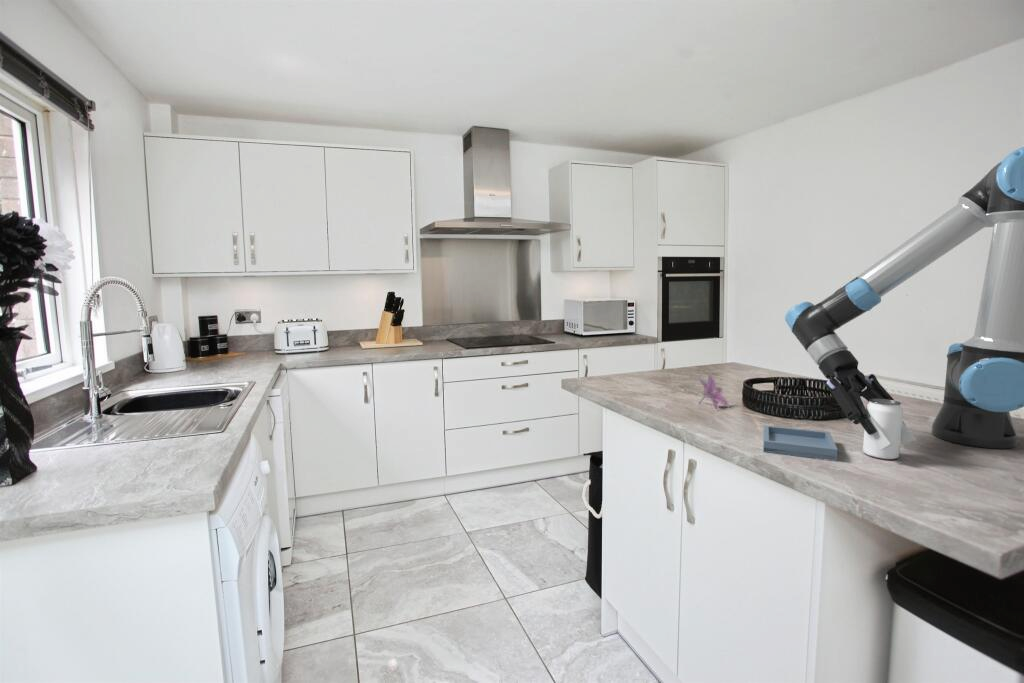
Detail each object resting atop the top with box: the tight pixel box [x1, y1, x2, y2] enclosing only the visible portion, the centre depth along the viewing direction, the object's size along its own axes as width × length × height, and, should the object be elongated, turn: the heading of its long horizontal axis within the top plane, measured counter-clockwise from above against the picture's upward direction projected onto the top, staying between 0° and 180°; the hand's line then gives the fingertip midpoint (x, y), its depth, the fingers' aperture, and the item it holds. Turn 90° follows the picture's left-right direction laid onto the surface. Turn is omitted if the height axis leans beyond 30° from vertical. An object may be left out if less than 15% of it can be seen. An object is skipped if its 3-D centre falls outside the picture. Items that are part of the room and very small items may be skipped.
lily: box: [697, 372, 730, 410], centre depth 156 cm, size 12×12×10 cm
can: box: [862, 399, 903, 461], centre depth 111 cm, size 6×6×12 cm
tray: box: [763, 424, 838, 462], centre depth 117 cm, size 14×14×2 cm
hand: (898, 444), depth 107 cm, fingers closed on can, 6 cm apart
